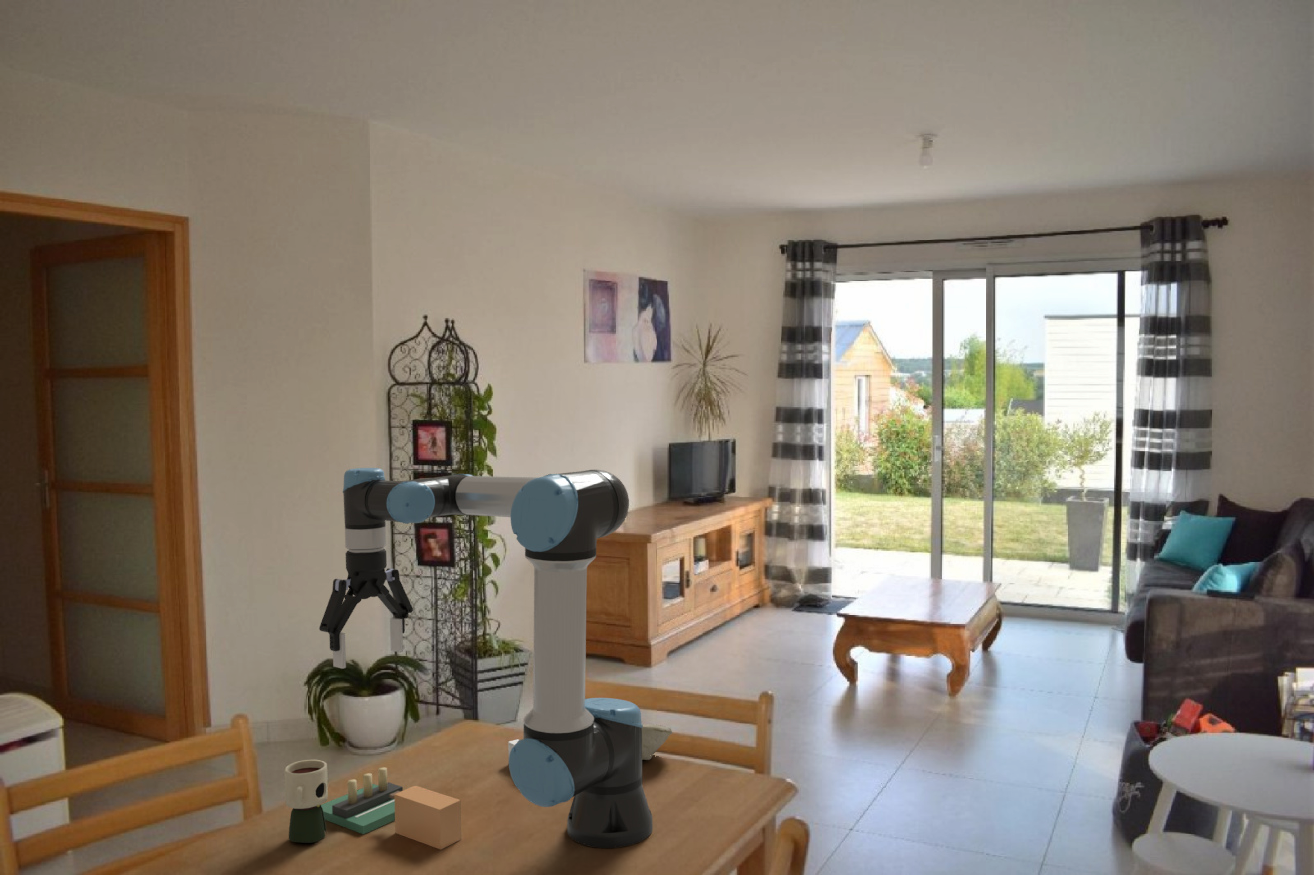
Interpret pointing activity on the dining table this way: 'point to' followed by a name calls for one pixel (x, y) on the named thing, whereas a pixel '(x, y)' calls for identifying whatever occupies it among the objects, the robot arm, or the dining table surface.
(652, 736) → the bowl
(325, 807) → the board
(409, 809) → the block
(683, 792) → the dining table surface
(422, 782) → the dining table surface
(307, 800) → the character mug
